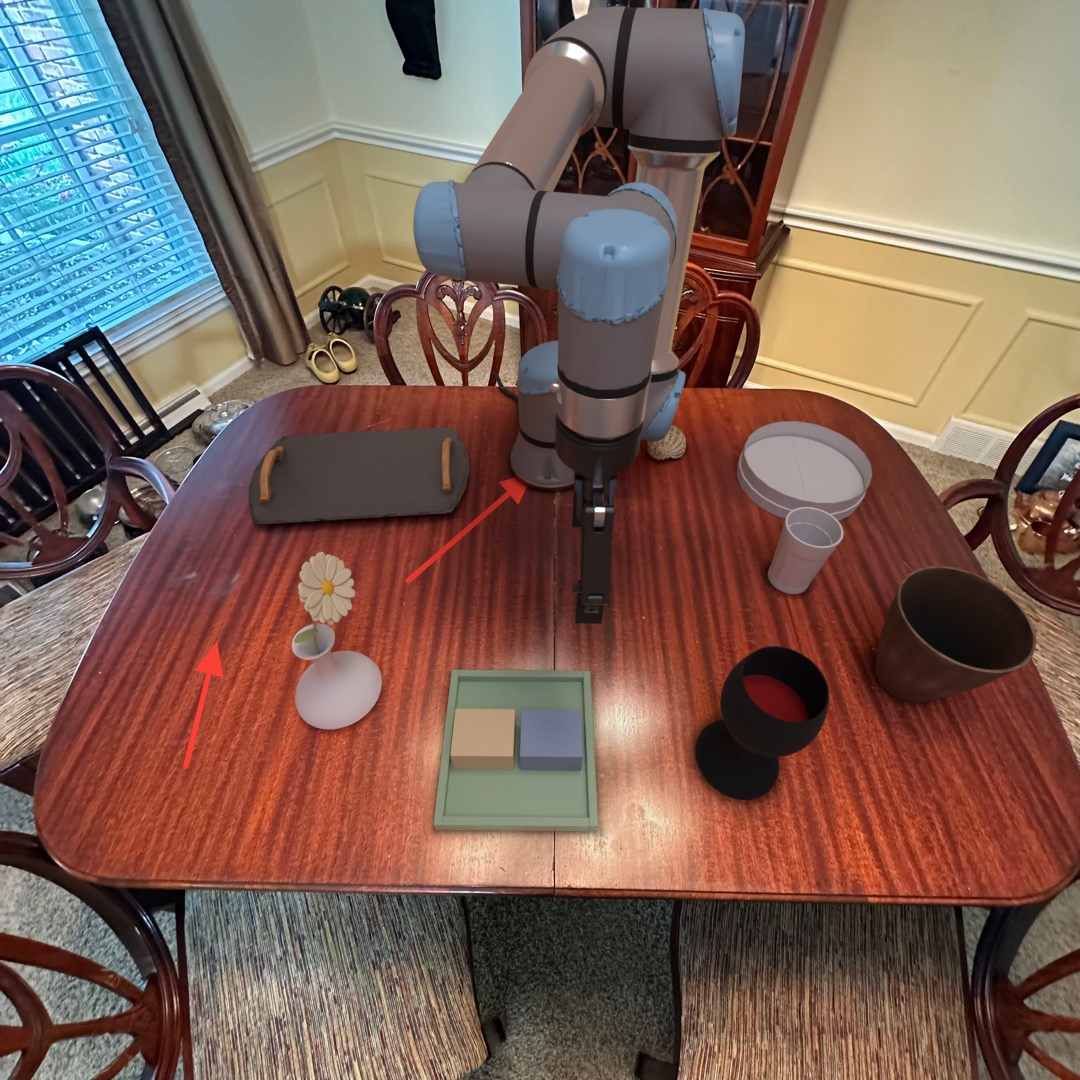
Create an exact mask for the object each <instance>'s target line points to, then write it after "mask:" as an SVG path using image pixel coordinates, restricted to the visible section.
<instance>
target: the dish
mask: <svg viewBox="0 0 1080 1080" xmlns="http://www.w3.org/2000/svg"><path fill="white" fill-rule="evenodd" d="M872 477H873V470H872V464H871V462H870V460H869V458H868V457H867V455H866V453H865V452H864V451H863V450H862V449H861V448H860V447H859V446H858V445H857V444H856V443H855V442H853V441H852V440H850V439H849V438H848V437H847V436H845V435H843V434H841V433H840V432H837V431H835V430H833V429H831V428H830V427H829V428H828V427H825V426H822V425H818V424H815V423H811V422H804V421H797V420H793V421H791V420H790V421H788V420H787V421H785V420H784V421H777V422H772V423H768V424H766V425H763V426H761V427H759V428H757V429H755V431H753V432H752V433H751V434H750V435H749V436H748V438H747V440H746V442H745V444H744V447H743V449H742V451H741V453H740V455H739V459H738V461H737V464H736V478H737V481H738V484H739V486H740V488H741V489H742V491H743V492H744V493H745V495H746V496H747V498H748V499H749V500H751V501H752V502H753V503H754V504H755V505H757V506H758V507H759V508H761V509H762V510H764V511H766V512H767V513H769V514H771V515H772V516H776V517H777V518H781V519H783V520H785V519H786V517H787V515H788V513H789V512H791V511H792V510H794V509H796V508H800V507H813V508H817V509H821V510H823V511H825V512H827V513H829V514H831V515H832V516H834V517H835V518H836V519H837V520H838V521H839V522H840V521H843V520H844V519H846V518H848V517H849V516H852V515H853V513H854V512H856V510H857V509H858V507H860V505H861V503H862V501H863V499H864V498H865V496H866V492H867V490H868V488H869V487H870V484H871V482H872Z"/></svg>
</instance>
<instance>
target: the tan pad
mask: <svg viewBox="0 0 1080 1080" xmlns="http://www.w3.org/2000/svg"><path fill="white" fill-rule="evenodd" d="M515 743H516V715H515V709H455V717H454V726H453V735H452V744H451V754H450V756H451V760H452V763H453V766H454V769H455V770H514V769H515Z"/></svg>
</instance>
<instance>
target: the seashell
mask: <svg viewBox="0 0 1080 1080" xmlns="http://www.w3.org/2000/svg"><path fill="white" fill-rule="evenodd" d="M686 440H687V439H686V436H685V434H684V432H683V431H682V430H681V429H679V426H676V425H673V424H671V427H670V429H669V432H668V433H667V435H666V436H665V438H663V439H662V440H660V441H647V442H646V445H647V449H646V451H647V452H648V455H650V456H651V458H652V459H653V460H656V461H664V460H666V459H669V458H672V459H679V458H681V457H683V456H684V454H685V452H686V448H687V441H686Z"/></svg>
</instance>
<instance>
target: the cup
mask: <svg viewBox="0 0 1080 1080" xmlns="http://www.w3.org/2000/svg"><path fill="white" fill-rule="evenodd" d="M843 539H844V528H843V526H842V524H841V522H840V521H838V520H837V519H836V518H835V517H834V516H832V515H831V514H829V513H827V512H825V511H823V510H821V509H817V508H813V507H800V508H796V509H794V510H792V511H791V512H789V513H788V515H787V517H786V519H784V523H783V526H782V529H781V533H780V537H779V539H778V543H777V545H776V549H775V552H774V554H773V557H772V561H771V563H770V566H769V568H768V570H767V579H768V580H769V582H770V584H771V585H772V586H773V587H774V588H775V589H776V590H778V591H780V592H782V593H785V594H789V595H797V594H802V593H804V592H805V591H806V590H807V589H808V588H809V587H810V584H811V582H812V581H813V580H814V579H815V577H816V576H817V574H818V573H819V571H820V570H821V569H822V567H823V566H824V565H825V564H826V562H827V561H828V559H829V558H830V556H831V555H832V554H833V552H834V551H835V550H836V549H837V547H838V546H839V544H841V541H842V540H843Z"/></svg>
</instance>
